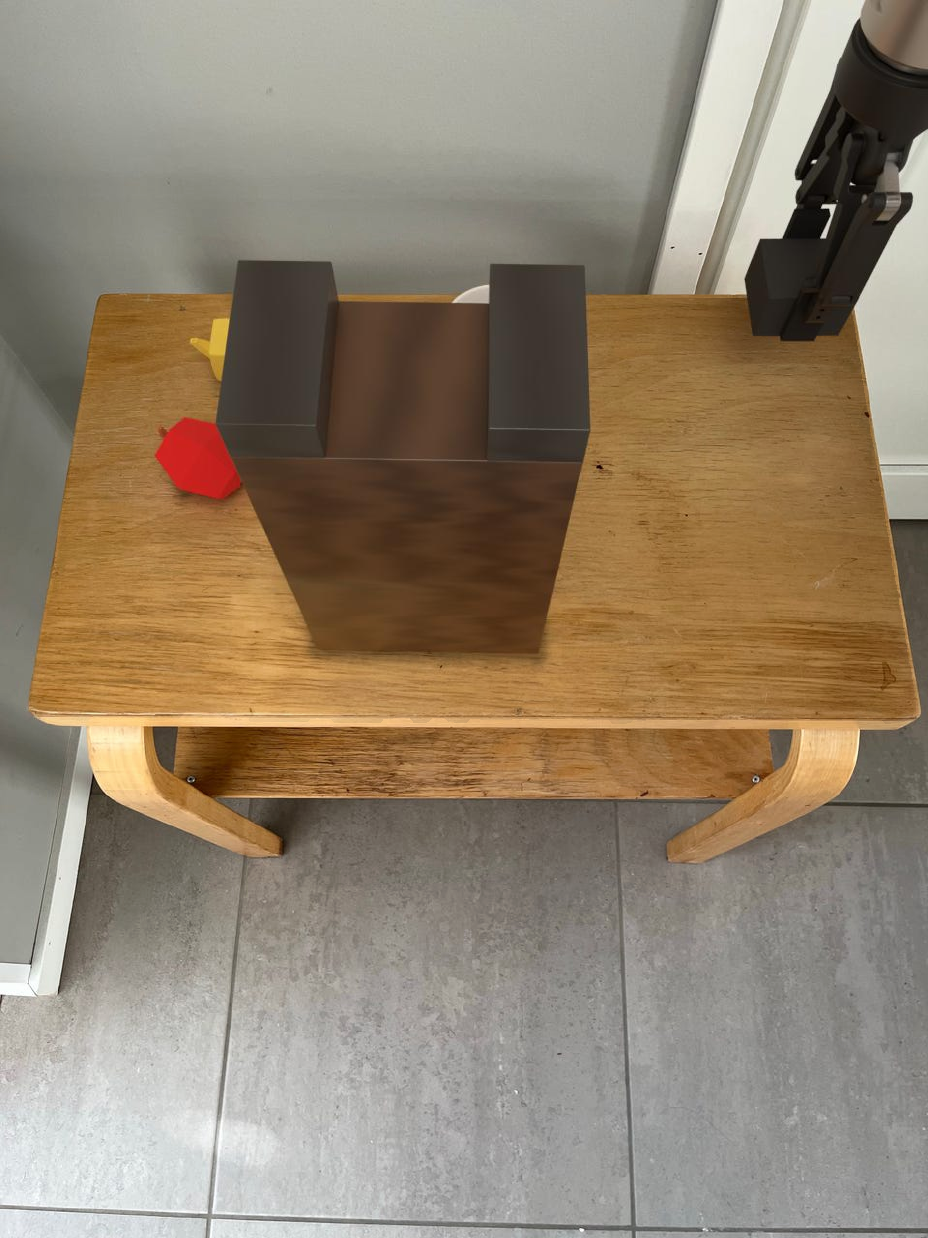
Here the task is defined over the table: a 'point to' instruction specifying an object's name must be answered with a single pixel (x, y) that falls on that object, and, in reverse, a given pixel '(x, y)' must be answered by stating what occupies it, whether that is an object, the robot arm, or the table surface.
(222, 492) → the apple
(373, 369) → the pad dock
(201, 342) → the teapot
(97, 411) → the table surface
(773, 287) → the pad
